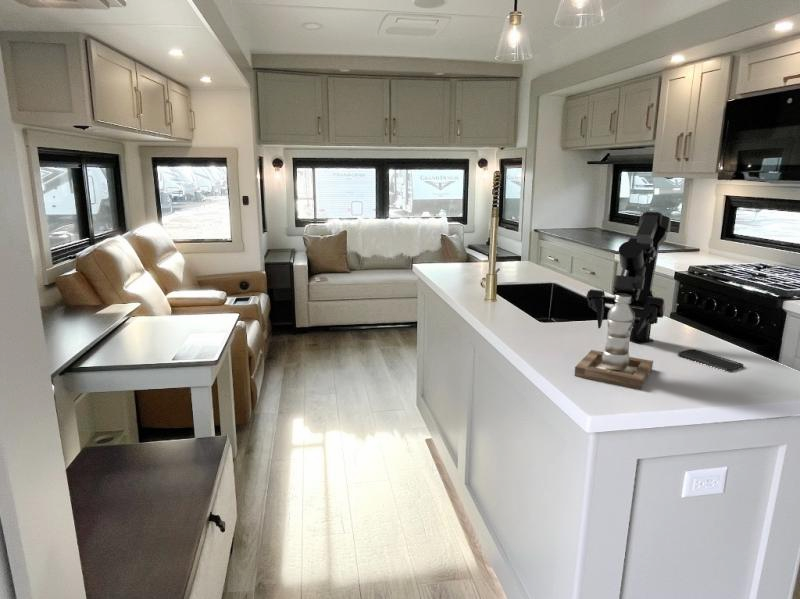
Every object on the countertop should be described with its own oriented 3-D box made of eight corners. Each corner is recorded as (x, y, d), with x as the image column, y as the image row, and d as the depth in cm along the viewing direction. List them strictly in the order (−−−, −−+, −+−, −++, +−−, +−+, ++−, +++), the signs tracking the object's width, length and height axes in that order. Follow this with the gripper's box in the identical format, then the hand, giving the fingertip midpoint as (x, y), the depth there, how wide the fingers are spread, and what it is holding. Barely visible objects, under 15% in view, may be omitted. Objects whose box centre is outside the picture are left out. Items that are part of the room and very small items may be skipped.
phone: (692, 348, 159) (745, 364, 146) (692, 352, 159) (744, 368, 147) (675, 353, 155) (728, 369, 143) (675, 356, 155) (728, 373, 143)
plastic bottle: (601, 362, 147) (610, 291, 142) (628, 366, 144) (638, 293, 139) (599, 370, 141) (608, 296, 136) (627, 375, 138) (637, 299, 133)
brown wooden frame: (590, 357, 153) (591, 349, 153) (652, 369, 145) (653, 360, 144) (574, 375, 140) (575, 366, 140) (640, 389, 132) (641, 379, 131)
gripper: (591, 259, 144) (576, 308, 138) (668, 266, 134) (655, 319, 128) (596, 283, 152) (582, 330, 146) (669, 291, 143) (657, 342, 136)
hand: (617, 330), depth 139 cm, fingers open, 9 cm apart
